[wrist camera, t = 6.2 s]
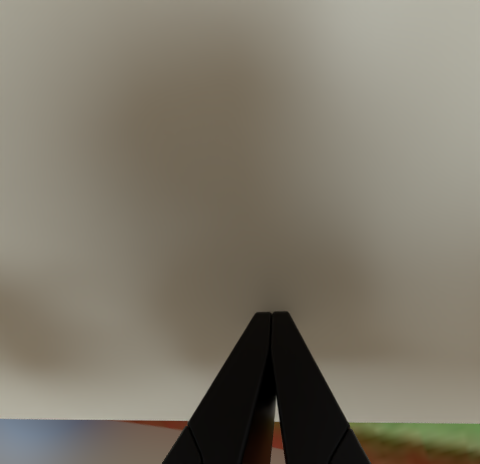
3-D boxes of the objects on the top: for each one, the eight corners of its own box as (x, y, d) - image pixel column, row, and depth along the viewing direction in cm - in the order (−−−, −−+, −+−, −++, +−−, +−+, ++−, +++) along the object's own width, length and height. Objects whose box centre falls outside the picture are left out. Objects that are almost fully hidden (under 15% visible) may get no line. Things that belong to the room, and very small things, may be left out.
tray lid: (9, 399, 14) (-4, 419, 13) (-326, -37, 7) (-391, -42, 6) (635, 399, 11) (658, 425, 10) (1212, -407, 4) (1422, -500, 3)
